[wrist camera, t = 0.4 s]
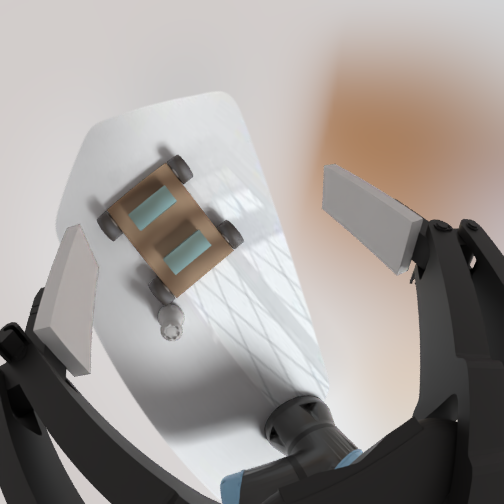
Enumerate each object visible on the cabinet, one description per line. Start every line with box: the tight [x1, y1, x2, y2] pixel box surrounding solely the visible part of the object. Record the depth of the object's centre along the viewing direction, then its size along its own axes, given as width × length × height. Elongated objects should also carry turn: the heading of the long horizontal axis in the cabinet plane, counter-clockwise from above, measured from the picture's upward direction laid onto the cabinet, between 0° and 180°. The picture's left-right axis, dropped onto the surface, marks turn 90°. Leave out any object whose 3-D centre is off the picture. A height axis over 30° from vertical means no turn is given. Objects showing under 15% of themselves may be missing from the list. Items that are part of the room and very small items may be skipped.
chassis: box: [97, 155, 244, 306], centre depth 41 cm, size 18×16×4 cm
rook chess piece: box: [158, 304, 184, 341], centre depth 41 cm, size 4×4×8 cm
